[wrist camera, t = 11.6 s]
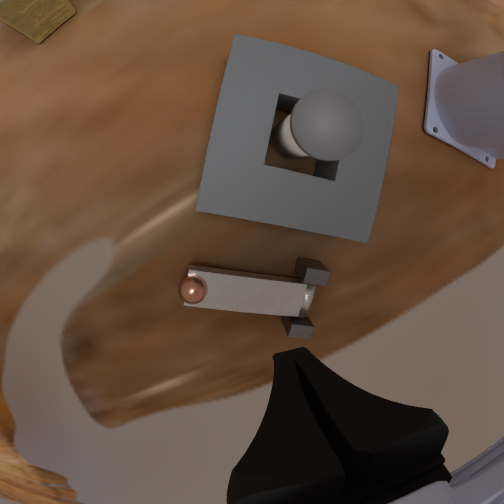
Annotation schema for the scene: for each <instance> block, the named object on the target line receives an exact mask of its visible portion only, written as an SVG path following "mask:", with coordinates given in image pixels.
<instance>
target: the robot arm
mask: <svg viewBox="0 0 504 504" xmlns="http://www.w3.org/2000/svg"><path fill="white" fill-rule="evenodd" d="M439 56H440V57H439ZM440 58H441V59H440ZM433 128H434V129H435V133H434V131H433ZM424 130H425V132H426V133H427V134H429V135H431V136H433V137H435V138H437V139H439V140H441V141H443V142H445V143H447V144H449V145H451V146H453V147H455V148H456V149H458V150H460V151H462V152H464V153H465V154H467V155H469V156H471V157H472V158H474V159H476V160H478V161H479V162H481V163H483V164H484V165H486V166H488V167H489V168H494V167H495V163H496V159H504V52H500V53H496V54H492V55H488V56H484V57H481V58H477V59H474V60H470V61H467V62H463V63H460V64H458V63H457V62H455V61H454V60H452V59H451V58H449V57H448V56H446V55H445V54H443V53H441V52H440V51H438V50H437V49H432V50H431V51H430V65H429V81H428V93H427V103H426V112H425V120H424ZM485 158H486V160H485ZM273 361H274V377H273V384H272V390H271V394H270V398H269V403H268V406H267V409H266V412H265V415H264V417H263V420H262V422H261V425H260V427H259V429H258V431H257V433H256V436H255V437H254V439H253V441H252V443H251V444H250V446H249V448H248V449H247V451H246V452H245V454H244V455H243V457H242V458H241V459H240V461H239V462H238V464H237V465H236V466H235V467H234V469H233V470H232V473H231V476H230V480H229V484H228V490H227V504H504V437H503V438H502V439H500V440H499V441H498V442H496V443H495V444H494V445H492V446H491V447H489V449H487V450H485V451H484V452H482V453H481V454H480V455H478V456H477V457H475V458H474V459H472V460H470V461H469V462H467V463H466V464H464V465H463V466H461V467H460V468H458V469H456V470H455V471H453V472H451V473H449V471H448V470H447V469H446V467H445V466H444V464H443V463H444V462H445V459H444V457H443V456H442V454H441V451H442V449H443V446H444V444H445V442H446V439H447V436H448V432H449V430H448V427H447V425H446V424H445V423H444V421H443V420H442V419H441V418H440V417H439V416H438V415H437V414H436V413H435V412H434V411H433V410H432V409H428V408H421V407H415V406H409V405H404V404H401V403H397V402H393V401H390V400H387V399H384V398H381V397H379V396H376V395H373V394H371V393H369V392H367V391H364V390H363V389H360V388H359V387H357V386H355V385H353V384H352V383H350V382H348V381H347V380H345V379H343V378H342V377H340V376H339V375H338V374H336V373H335V372H333V371H332V370H331V369H330V368H328V367H327V366H326V365H324V364H323V363H322V362H321V361H320V360H318V359H317V358H316V357H315V356H314V355H313V354H312V353H311V352H310V351H309V350H308V349H307V348H305V347H301V348H297V349H293V350H289V351H284V352H280V353H276V354H274V355H273Z"/></svg>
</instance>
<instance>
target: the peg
mask: <svg viewBox="0 0 504 504" xmlns="http://www.w3.org/2000/svg"><path fill="white" fill-rule="evenodd" d="M363 131H364V125H363V119H362V116H361V113H360V111H359V109H358V107H357V106H356V104H355V103H354V102H353V101H352V100H351V99H350V98H349V97H348V96H347V95H345V94H343V93H342V92H340V91H337V90H334V89H329V88H321V89H316V90H313V91H310V92H309V93H307V94H306V95H304V96H303V97H302V98H301V99H299V100H298V102H297V103H296V104H295V106H294V107H293V109H292V112H291V114H290V115H288V116H287V117H286V118H284V119H283V120H282V121H280V122H279V123H278V124H276V125H275V126H274V128H273V129H272V131H271V134H270V142H271V146H272V148H273V149H274V151H275V152H276V153H277V154H278V155H280V156H282V157H284V158H299V157H307V156H310V157H312V158H315V159H317V160H322V161H336V160H341V159H344V158H346V157H348V156H349V155H351V154H352V153H353V152H354V151H355V150H356V149H357V148H358V146H359V145H360V143H361V140H362V137H363Z"/></svg>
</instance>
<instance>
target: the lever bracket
mask: <svg viewBox="0 0 504 504" xmlns="http://www.w3.org/2000/svg"><path fill="white" fill-rule="evenodd" d="M295 272H296V273H297V275H298V276H299V277H300V279H301V280H302V281H303V283H308V284H315V285H322V286H327V282H328V279H329V275H330V271H329V270H328V269H327V268H326V267H325V266H324V265H323V264H322V263H321V262H320V261H318V260H312V259H306V258H300V257H298V259H297V263H296V267H295ZM282 323H283V326H284V328H285V331H286V333H287V335H288V337H291V338H303V339H310V338H311V335H312V332H313V329H314V326H313V324H312V322H311V321H310V319H309V317H306V318H301V317H294V316H283V317H282Z"/></svg>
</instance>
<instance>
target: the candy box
mask: <svg viewBox="0 0 504 504" xmlns="http://www.w3.org/2000/svg"><path fill="white" fill-rule="evenodd" d="M75 13H76V10H75V8H74V7H73V5H72V4H71V2H70V1H69V0H0V21H2V22H4V23H5V24H7V25H9V26H10V27H12V28H14V29H15V30H17V31H18V32H20V33H22V34H23V35H25V36H27V37H28V38H30V39H31V40H33V41H34V42H36V43H37V44H40V43H41V42H42V41H43V40H44V39H45V38H47V37H48V36H49V35H50V34H51V33H52V32H53V31H54V30H55V29H57V28H58V27H59V26H60V25H61V24H63V23H64V22H65V21H66V20H68V19H69V18H70V17H71V16H73V15H74V14H75Z"/></svg>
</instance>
